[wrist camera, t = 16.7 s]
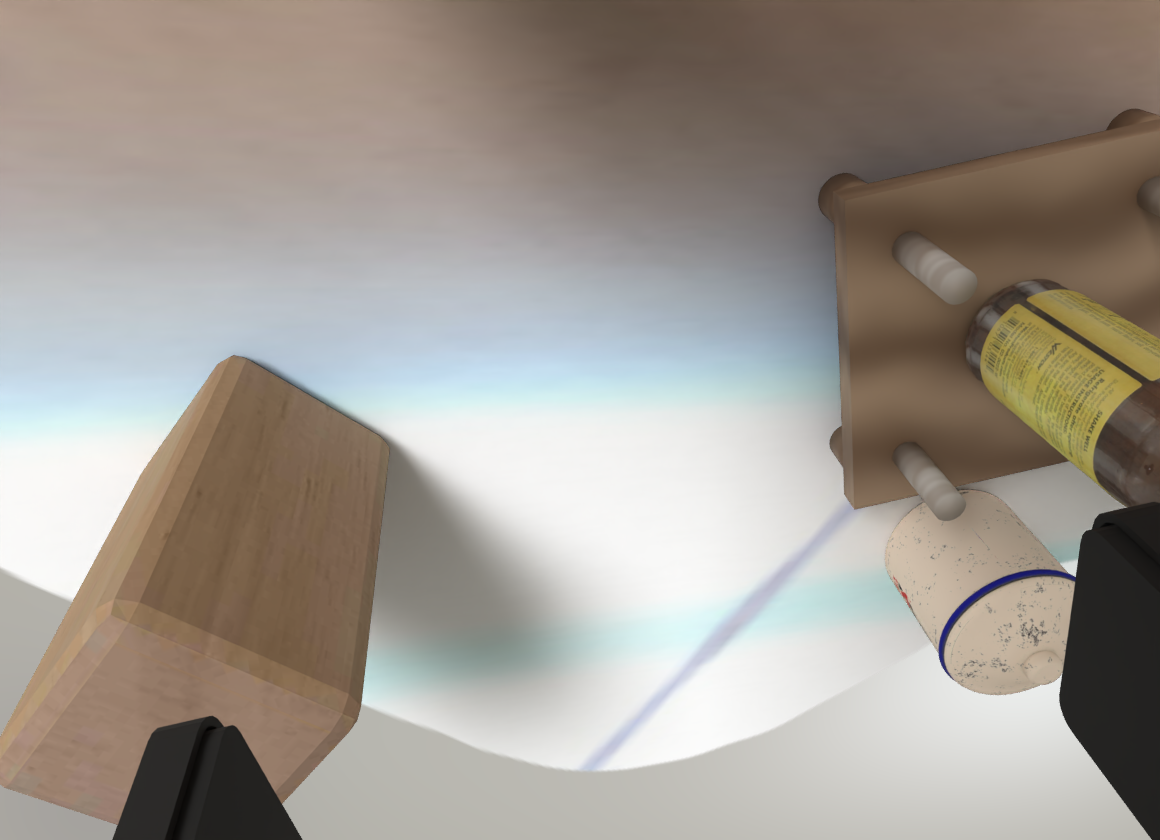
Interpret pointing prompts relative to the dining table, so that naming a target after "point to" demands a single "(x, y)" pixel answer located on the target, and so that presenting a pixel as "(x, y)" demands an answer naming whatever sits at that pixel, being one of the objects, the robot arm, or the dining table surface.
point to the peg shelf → (975, 297)
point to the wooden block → (216, 600)
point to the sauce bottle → (1075, 381)
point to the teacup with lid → (984, 594)
